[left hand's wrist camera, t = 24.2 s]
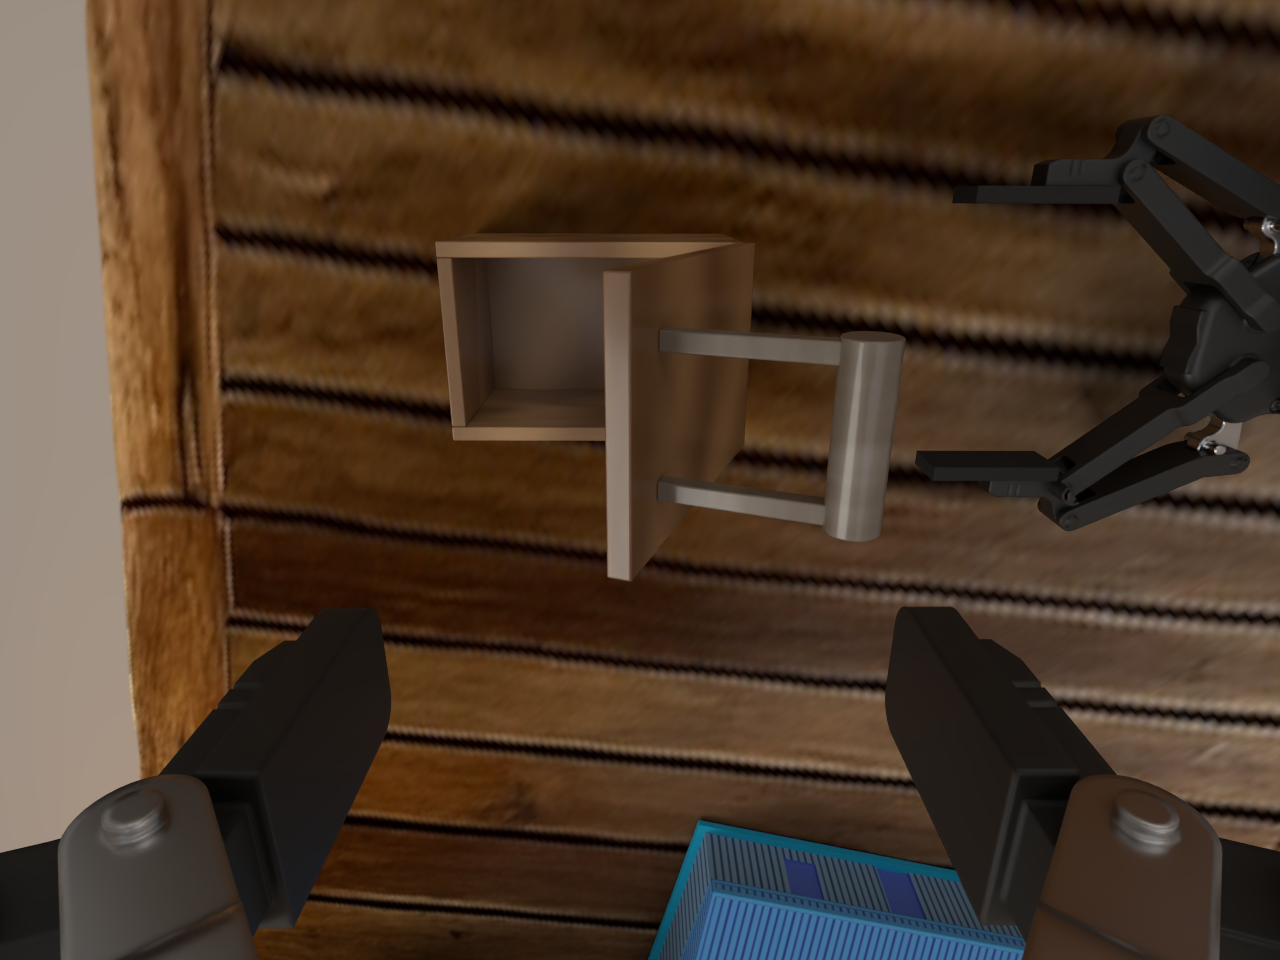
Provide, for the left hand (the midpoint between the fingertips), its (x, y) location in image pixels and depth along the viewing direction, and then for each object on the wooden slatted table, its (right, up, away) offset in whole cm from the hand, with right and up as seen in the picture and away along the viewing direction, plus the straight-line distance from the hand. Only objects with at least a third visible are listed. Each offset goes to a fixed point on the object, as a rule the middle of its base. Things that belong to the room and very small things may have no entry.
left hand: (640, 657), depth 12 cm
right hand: (+15, +10, +26) cm, 32 cm away
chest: (-2, +12, +32) cm, 34 cm away
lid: (+2, +7, +17) cm, 18 cm away
